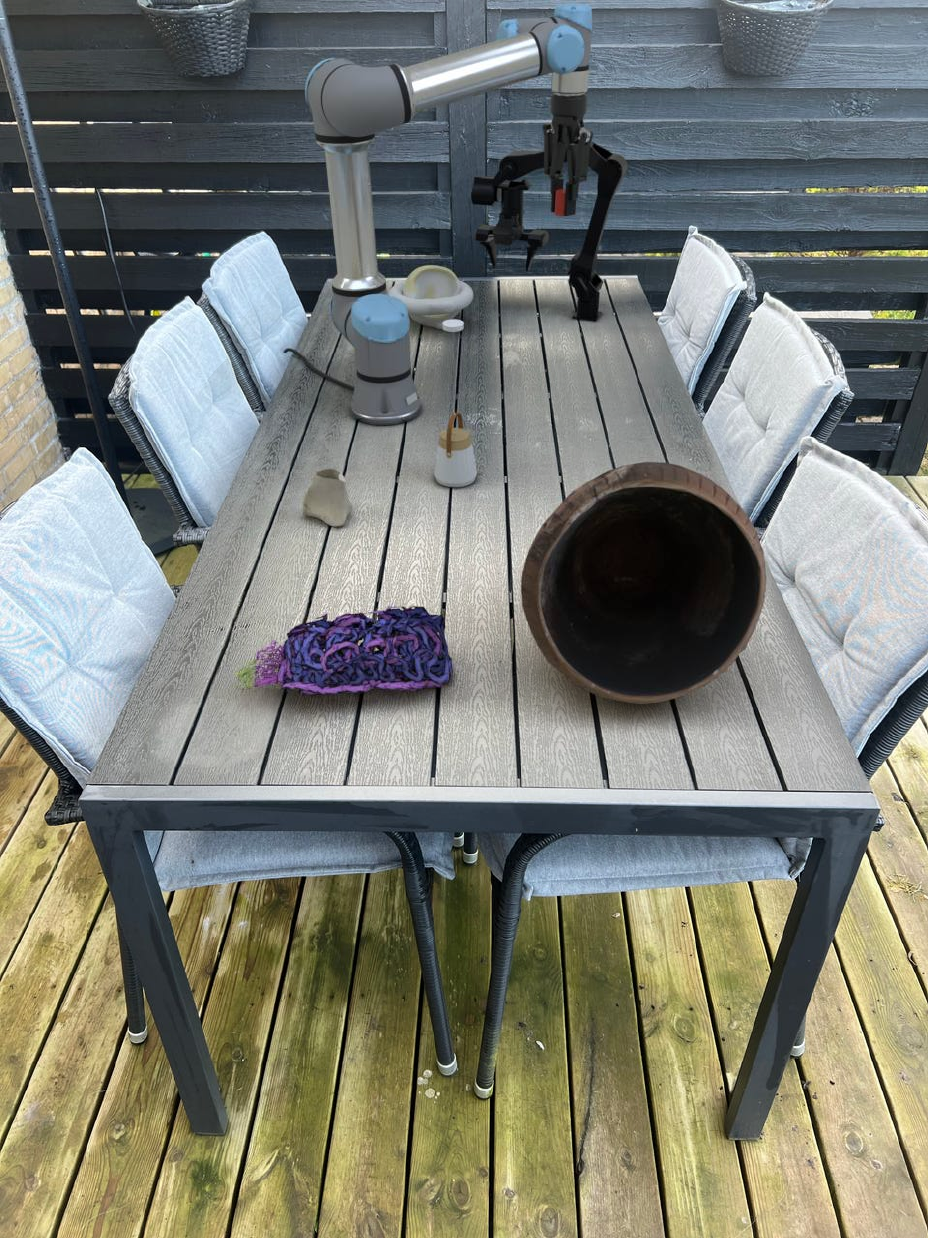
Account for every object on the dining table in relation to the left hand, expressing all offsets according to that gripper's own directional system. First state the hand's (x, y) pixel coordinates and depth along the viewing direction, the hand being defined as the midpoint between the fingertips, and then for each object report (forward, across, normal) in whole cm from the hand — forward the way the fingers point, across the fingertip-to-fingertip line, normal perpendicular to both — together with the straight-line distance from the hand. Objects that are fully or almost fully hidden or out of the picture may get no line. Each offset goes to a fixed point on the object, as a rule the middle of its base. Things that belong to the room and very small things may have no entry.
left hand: (563, 212), depth 207 cm
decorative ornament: (+33, -72, +104) cm, 131 cm away
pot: (+33, -90, +67) cm, 117 cm away
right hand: (+23, +33, -13) cm, 42 cm away
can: (0, 0, 0) cm, 0 cm away
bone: (+33, -31, +83) cm, 95 cm away
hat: (+33, +36, +11) cm, 50 cm away
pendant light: (+33, -34, +56) cm, 73 cm away
